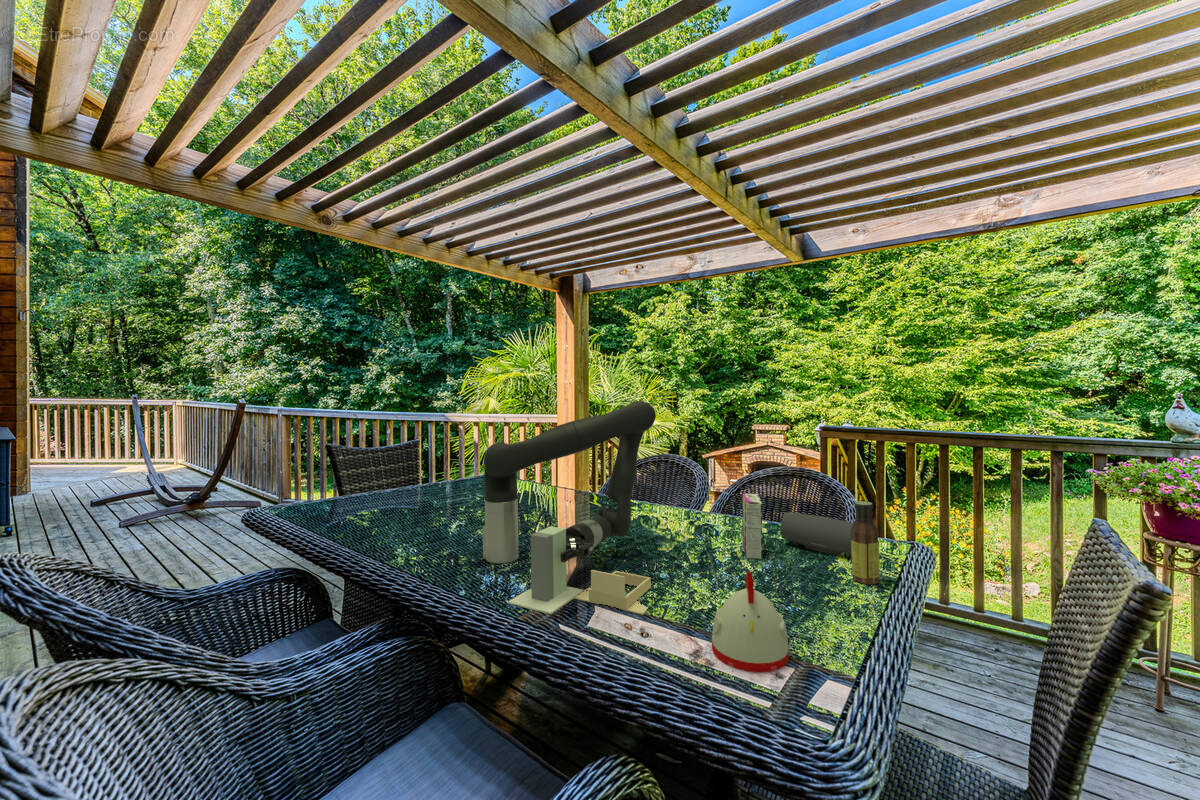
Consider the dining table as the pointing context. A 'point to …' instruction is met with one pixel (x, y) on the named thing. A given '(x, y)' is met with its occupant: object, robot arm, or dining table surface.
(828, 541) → the bluetooth speaker
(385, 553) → the dining table surface
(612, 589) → the tan open holder
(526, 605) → the mat
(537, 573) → the slim sage box
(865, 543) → the sauce bottle
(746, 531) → the candy bar box
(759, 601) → the kitchen timer
